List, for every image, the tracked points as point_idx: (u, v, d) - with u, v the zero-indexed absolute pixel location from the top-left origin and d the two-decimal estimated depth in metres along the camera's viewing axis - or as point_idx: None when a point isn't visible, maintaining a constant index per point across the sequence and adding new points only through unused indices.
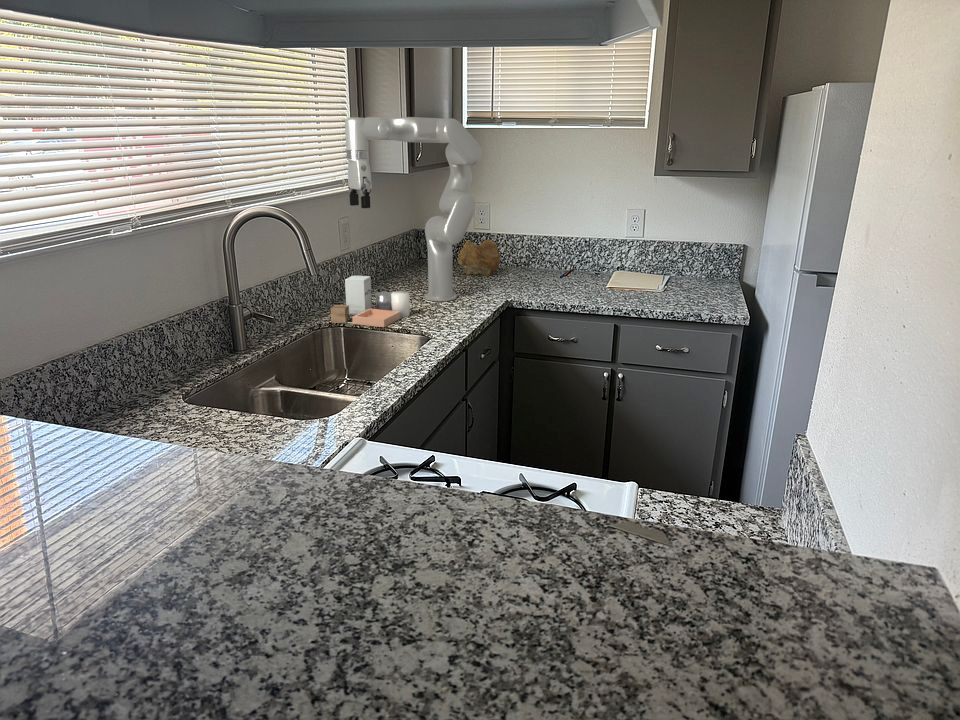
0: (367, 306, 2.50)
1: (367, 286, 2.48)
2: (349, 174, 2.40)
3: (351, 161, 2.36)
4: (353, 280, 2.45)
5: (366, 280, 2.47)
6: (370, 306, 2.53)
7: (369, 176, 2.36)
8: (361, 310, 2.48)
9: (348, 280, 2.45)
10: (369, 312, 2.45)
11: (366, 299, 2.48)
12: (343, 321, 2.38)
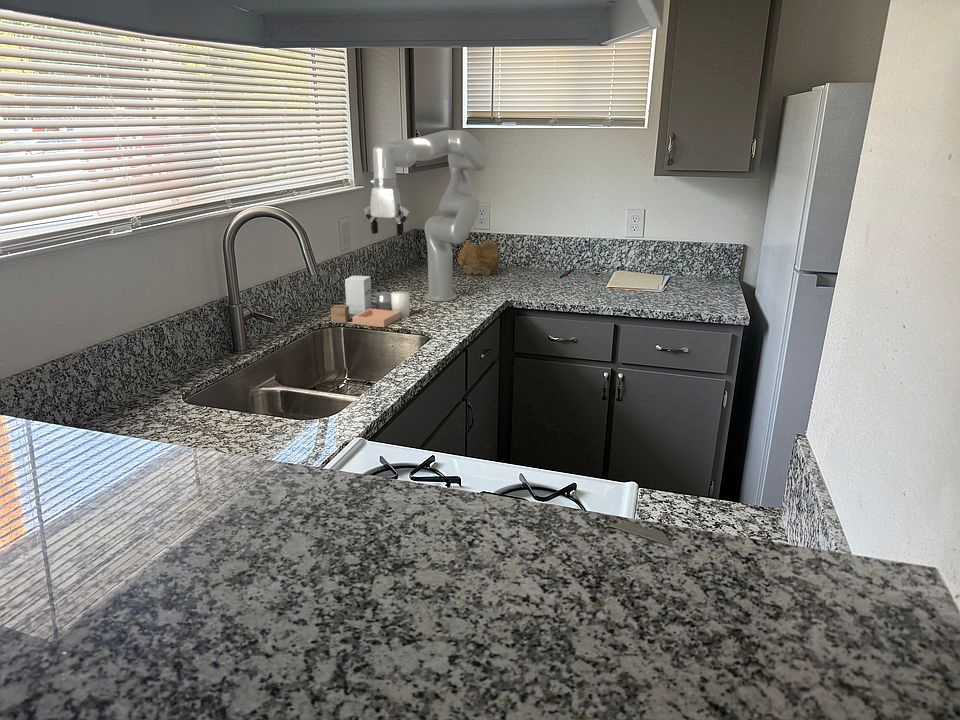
0: (367, 306, 2.50)
1: (367, 286, 2.48)
2: None
3: None
4: (353, 280, 2.45)
5: (366, 280, 2.47)
6: (370, 306, 2.53)
7: None
8: (361, 310, 2.48)
9: (348, 280, 2.45)
10: (369, 312, 2.45)
11: (366, 299, 2.48)
12: (343, 321, 2.38)
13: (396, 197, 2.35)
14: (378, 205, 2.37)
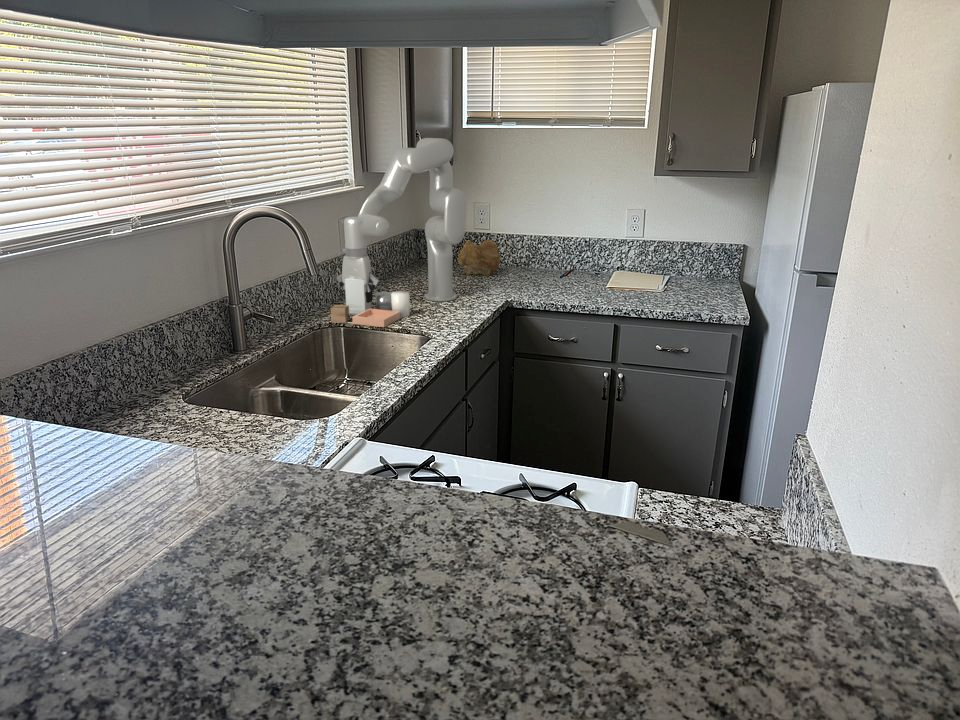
0: (367, 306, 2.50)
1: None
2: None
3: None
4: (353, 280, 2.45)
5: None
6: (370, 306, 2.53)
7: None
8: (361, 310, 2.48)
9: (348, 280, 2.45)
10: (369, 312, 2.45)
11: None
12: (343, 321, 2.38)
13: (366, 266, 2.44)
14: (349, 273, 2.46)
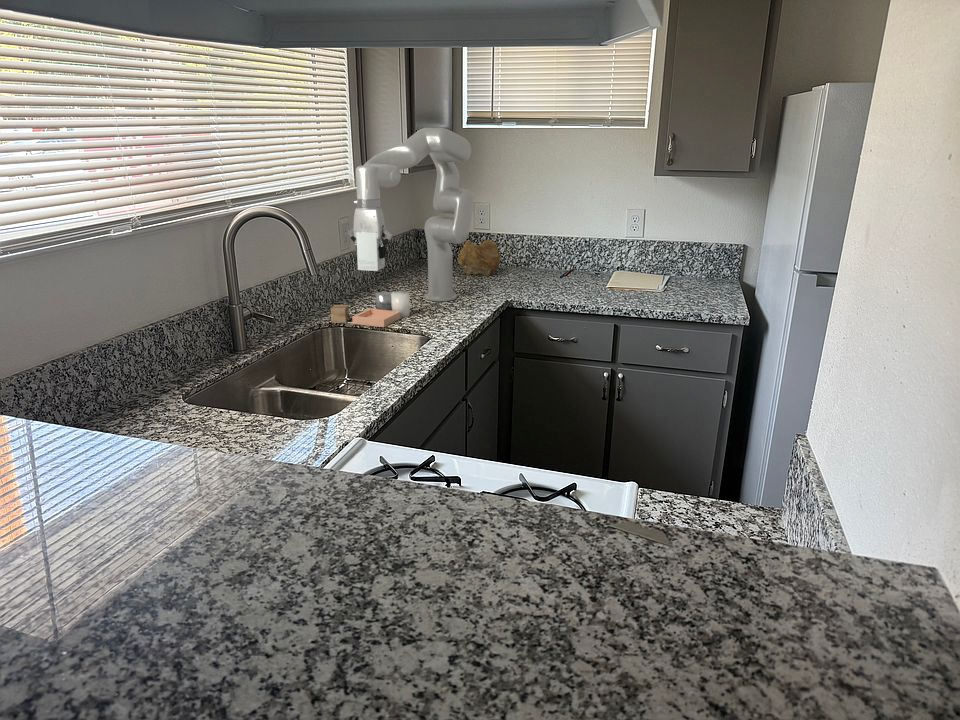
0: (380, 262, 2.34)
1: None
2: None
3: None
4: (365, 234, 2.29)
5: None
6: (383, 263, 2.37)
7: None
8: (373, 266, 2.32)
9: (360, 234, 2.30)
10: (369, 312, 2.45)
11: None
12: (343, 321, 2.38)
13: (380, 218, 2.28)
14: (361, 226, 2.30)
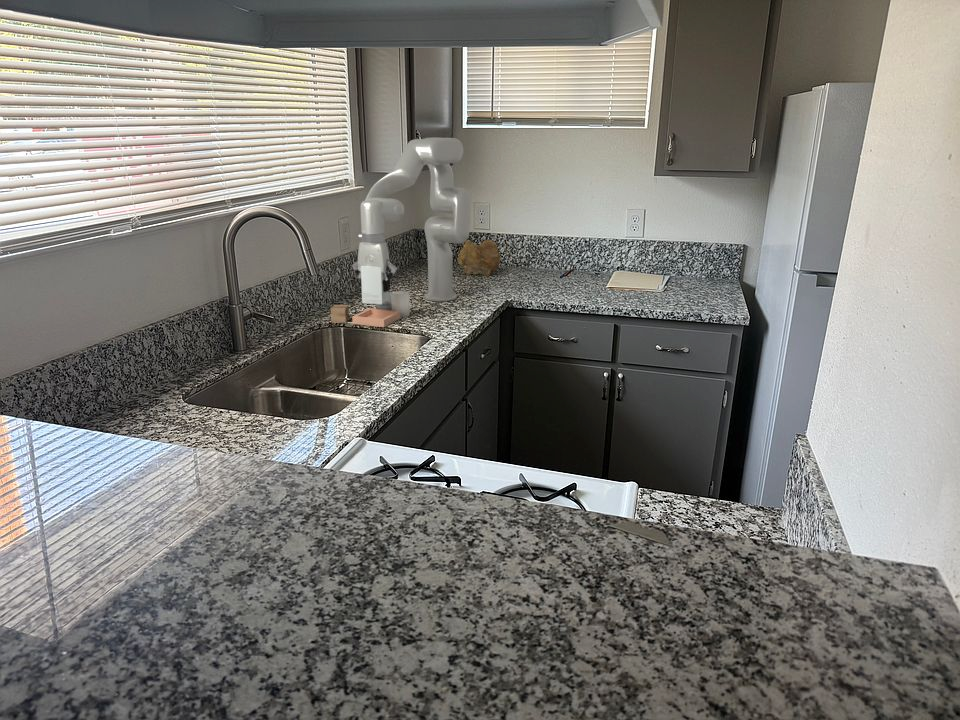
0: (384, 295, 2.35)
1: None
2: None
3: None
4: (369, 268, 2.31)
5: None
6: (387, 296, 2.39)
7: None
8: (378, 300, 2.34)
9: (364, 268, 2.31)
10: (369, 312, 2.45)
11: None
12: (343, 321, 2.38)
13: (384, 252, 2.30)
14: (366, 260, 2.31)
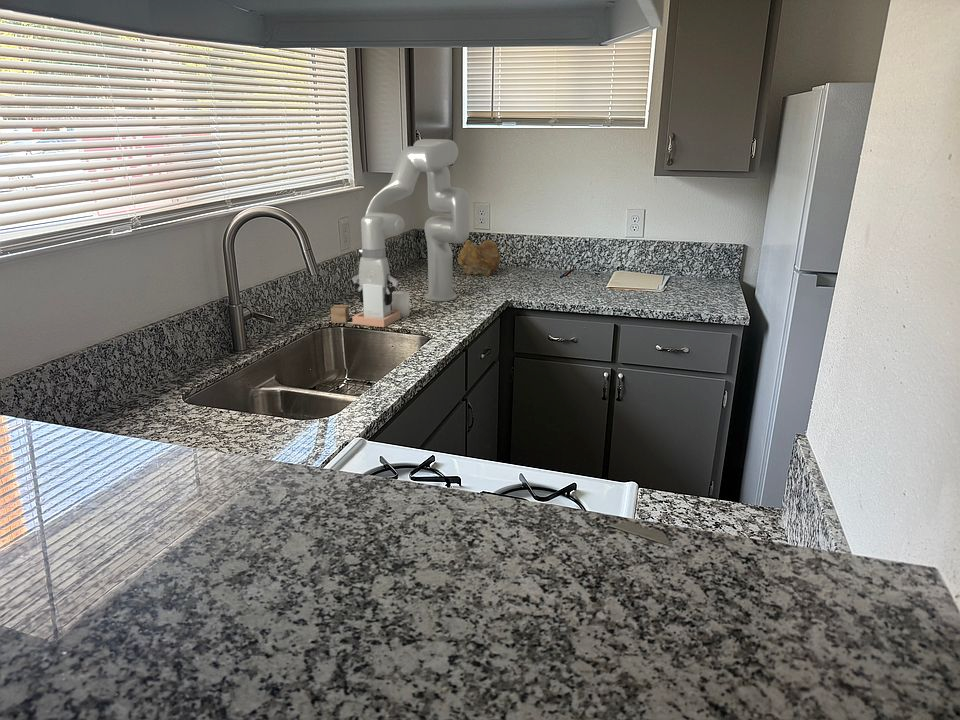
0: (386, 312, 2.37)
1: None
2: None
3: None
4: (371, 286, 2.33)
5: None
6: (389, 313, 2.41)
7: None
8: (379, 317, 2.36)
9: (366, 286, 2.33)
10: None
11: (384, 305, 2.36)
12: (343, 321, 2.38)
13: (385, 268, 2.31)
14: (366, 275, 2.33)
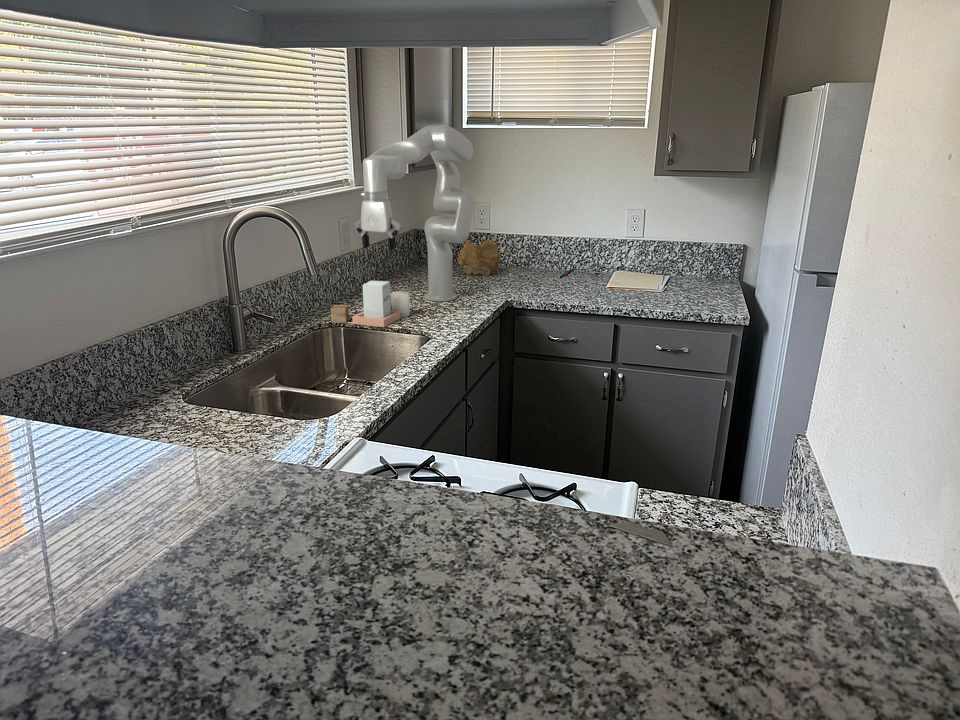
0: (386, 312, 2.37)
1: (386, 292, 2.36)
2: None
3: None
4: (371, 286, 2.33)
5: (385, 286, 2.34)
6: (389, 313, 2.41)
7: None
8: (379, 317, 2.36)
9: (366, 286, 2.33)
10: None
11: (384, 305, 2.36)
12: (343, 321, 2.38)
13: (387, 211, 2.27)
14: (369, 219, 2.29)
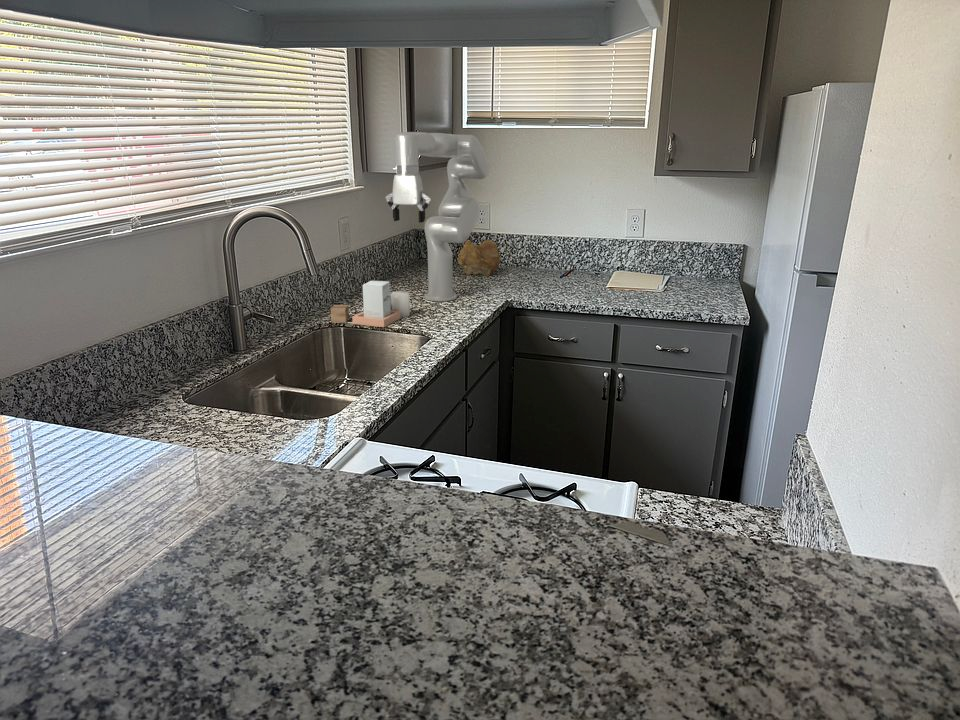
0: (386, 312, 2.37)
1: (386, 292, 2.36)
2: None
3: None
4: (371, 286, 2.33)
5: (385, 286, 2.34)
6: (389, 313, 2.41)
7: None
8: (379, 317, 2.36)
9: (366, 286, 2.33)
10: None
11: (384, 305, 2.36)
12: (343, 321, 2.38)
13: (418, 184, 2.36)
14: (400, 192, 2.38)
